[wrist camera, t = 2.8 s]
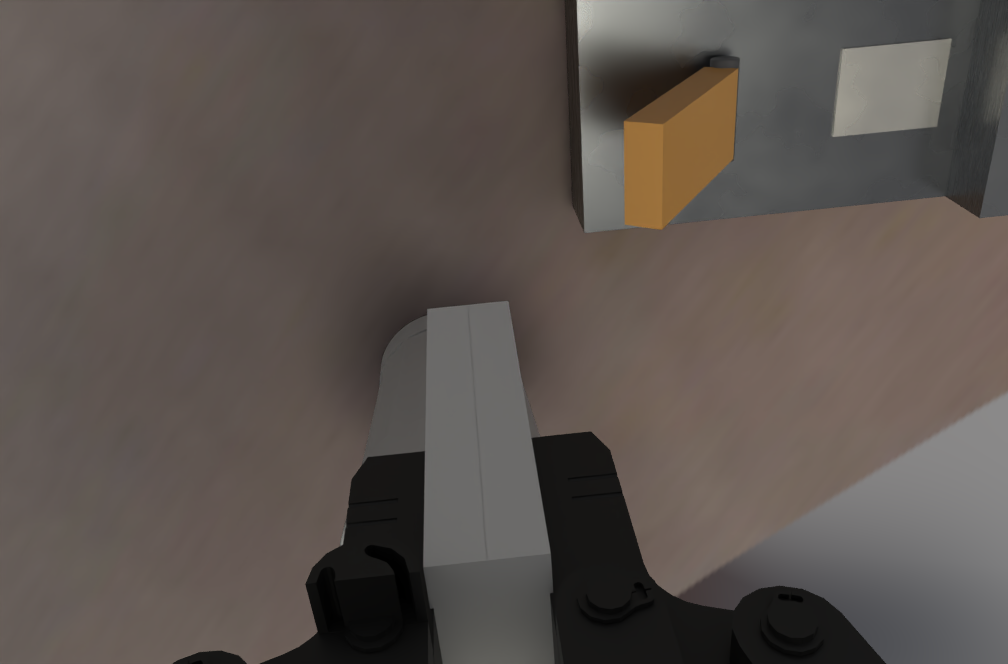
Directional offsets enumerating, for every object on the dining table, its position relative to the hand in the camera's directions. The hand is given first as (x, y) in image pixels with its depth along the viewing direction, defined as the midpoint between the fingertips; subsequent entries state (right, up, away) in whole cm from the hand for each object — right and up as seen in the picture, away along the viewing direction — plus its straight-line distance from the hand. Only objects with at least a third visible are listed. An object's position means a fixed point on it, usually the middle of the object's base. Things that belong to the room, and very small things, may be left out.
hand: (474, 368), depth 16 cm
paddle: (+8, +9, +14) cm, 19 cm away
